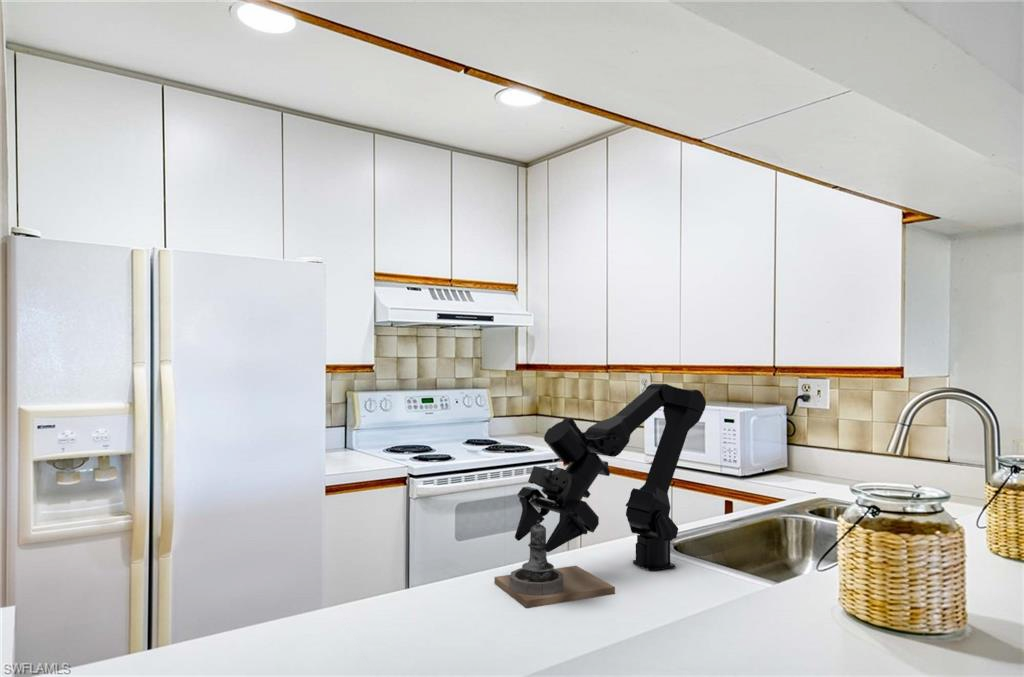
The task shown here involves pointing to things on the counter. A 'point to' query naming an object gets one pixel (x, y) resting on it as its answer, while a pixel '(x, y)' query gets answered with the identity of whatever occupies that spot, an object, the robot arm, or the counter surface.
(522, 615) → the counter surface
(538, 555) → the salt shaker
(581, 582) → the board
